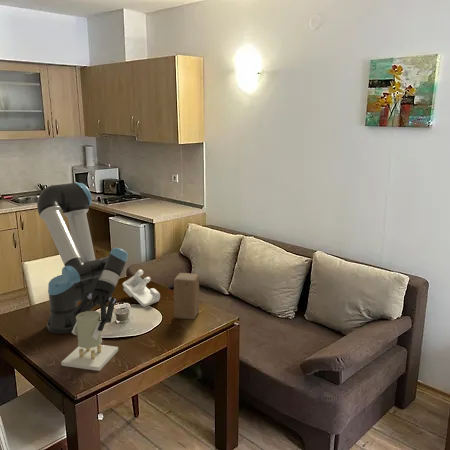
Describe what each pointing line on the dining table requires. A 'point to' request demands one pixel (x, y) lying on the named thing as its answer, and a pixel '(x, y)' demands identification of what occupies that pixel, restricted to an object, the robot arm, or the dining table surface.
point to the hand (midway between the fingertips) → (84, 336)
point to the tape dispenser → (141, 289)
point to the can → (88, 329)
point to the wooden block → (186, 295)
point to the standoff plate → (90, 357)
